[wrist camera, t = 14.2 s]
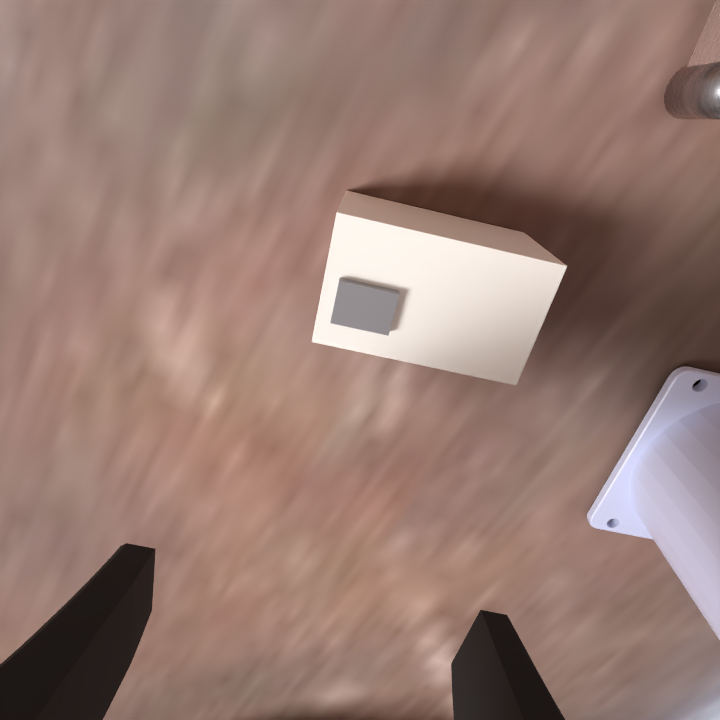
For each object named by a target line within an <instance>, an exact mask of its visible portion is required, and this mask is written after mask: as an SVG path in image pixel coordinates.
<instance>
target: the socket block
mask: <svg viewBox="0 0 720 720" xmlns="http://www.w3.org/2000/svg"><path fill="white" fill-rule="evenodd" d="M566 268H567V265H565V264H564V263H563V262H561V261H560V260H559V259H558V258H556V257H555V256H554V255H552V254H551V253H550V252H549V251H547V250H546V249H545V248H543V247H542V246H541V245H540V244H538V243H537V242H536V241H534V240H533V239H532V238H530V237H529V236H528V235H527V234H525V233H524V232H520V231H515V230H511V229H507V228H503V227H499V226H494V225H490V224H486V223H482V222H477V221H473V220H469V219H465V218H461V217H456V216H452V215H448V214H444V213H439V212H435V211H431V210H427V209H423V208H418V207H414V206H410V205H406V204H402V203H397V202H393V201H389V200H385V199H380V198H376V197H372V196H368V195H364V194H359V193H355V192H351V191H347V190H346V192H345V194H344V196H343V199H342V201H341V203H340V206H339V208H338V211H337V214H336V219H335V224H334V229H333V234H332V240H331V245H330V250H329V255H328V260H327V265H326V271H325V276H324V281H323V286H322V291H321V296H320V302H319V307H318V312H317V317H316V322H315V327H314V333H313V338H312V342H315V343H319V344H324V345H329V346H334V347H338V348H343V349H348V350H352V351H357V352H362V353H366V354H371V355H376V356H380V357H385V358H390V359H395V360H399V361H404V362H409V363H413V364H418V365H423V366H427V367H432V368H437V369H441V370H446V371H451V372H456V373H460V374H465V375H470V376H474V377H479V378H484V379H488V380H493V381H498V382H502V383H507V384H512V385H517V382H518V380H519V378H520V375H521V373H522V371H523V368H524V366H525V364H526V361H527V359H528V357H529V354H530V352H531V350H532V347H533V345H534V343H535V340H536V338H537V336H538V333H539V331H540V329H541V326H542V324H543V322H544V319H545V317H546V315H547V312H548V310H549V308H550V305H551V303H552V301H553V298H554V296H555V294H556V291H557V289H558V287H559V284H560V282H561V280H562V277H563V275H564V273H565V270H566Z"/></svg>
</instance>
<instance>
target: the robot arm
mask: <svg viewBox="0 0 720 720" xmlns="http://www.w3.org/2000/svg"><path fill="white" fill-rule="evenodd" d="M698 380H701V381H700V383H699V384H698V385H696V386H693V384H694V383H695V382H696V381H698ZM587 519H588V521H589V523H590V525H591V526H592V527H594V528H597V529H602V530H607V531H612V532H618V533H623V534H628V535H633V536H638V537H644V538H649V539H654V541H655V542H656V544H657V545H658V547H659V549H660V550H661V552H662V553H663V555H664V556H665V558H666V559H667V561H668V562H669V564H670V565H671V567H672V568H673V570H674V571H675V573H676V574H677V576H678V577H679V579H680V580H681V582H682V584H683V585H684V587H685V588H686V590H687V591H688V593H689V594H690V596H691V597H692V599H693V600H694V602H695V603H696V605H697V606H698V608H699V609H700V611H701V612H702V614H703V616H704V617H705V619H706V620H707V622H708V623H709V625H710V626H711V628H712V629H713V631H714V632H715V634H716V635H717V637H718V638H719V640H720V373H715V372H711V371H706V370H702V369H697V368H693V367H680V368H677V369H676V370H674V371H673V372H672V373H671V374H670V375H669V377H668V378H667V380H666V382H665V384H664V385H663V387H662V389H661V390H660V392H659V394H658V395H657V397H656V399H655V400H654V402H653V404H652V405H651V407H650V409H649V411H648V412H647V414H646V416H645V417H644V419H643V421H642V422H641V424H640V426H639V427H638V429H637V431H636V432H635V434H634V436H633V438H632V439H631V441H630V443H629V444H628V446H627V448H626V449H625V451H624V453H623V454H622V456H621V458H620V460H619V461H618V463H617V465H616V466H615V468H614V470H613V471H612V473H611V475H610V476H609V478H608V480H607V481H606V483H605V485H604V487H603V488H602V490H601V492H600V493H599V495H598V497H597V498H596V500H595V502H594V503H593V505H592V507H591V509H590V510H589V512H588V514H587ZM610 519H612V520H610ZM609 520H610V521H609ZM154 564H155V549H154V548H148V547H143V546H138V545H132V544H127V543H126V544H124V545H122V546H121V547H120V548H119V549H118V550H117V551H116V552H115V553H114V554H113V555H112V557H111V558H110V559H109V560H108V561H107V562H106V563H105V564H104V565H103V566H102V567H101V568H100V569H99V571H98V572H97V573H96V574H95V575H94V576H93V577H92V578H91V579H90V580H89V581H88V582H87V583H86V584H85V585H84V586H83V587H82V588H81V589H80V590H79V591H78V592H77V593H76V594H75V595H74V596H73V597H72V598H71V599H70V600H69V601H68V602H67V603H66V604H65V605H64V606H63V607H62V608H61V609H60V610H59V611H58V612H57V613H56V614H55V615H54V616H53V617H51V618H50V619H49V620H48V621H47V622H46V623H45V624H44V625H43V626H42V627H41V628H40V629H39V630H38V631H37V632H36V633H35V634H34V635H33V636H32V637H30V638H29V639H28V640H27V641H26V642H25V643H24V644H23V645H22V646H21V647H20V648H19V649H17V650H16V651H15V652H14V653H13V654H12V655H11V656H9V657H8V658H7V659H6V660H5V661H4V662H3V663H2V664H0V720H103V718H104V716H105V714H106V712H107V710H108V708H109V706H110V704H111V702H112V700H113V698H114V696H115V694H116V692H117V690H118V688H119V686H120V684H121V682H122V680H123V678H124V676H125V674H126V672H127V670H128V668H129V666H130V664H131V662H132V659H133V657H134V654H135V652H136V649H137V647H138V644H139V642H140V639H141V637H142V634H143V632H144V629H145V627H146V624H147V621H148V619H149V616H150V614H151V611H152V597H153V581H154ZM451 667H452V694H453V711H454V720H565V719H564V717H563V715H562V714H561V712H560V710H559V708H558V707H557V705H556V703H555V701H554V700H553V698H552V696H551V694H550V693H549V691H548V689H547V687H546V686H545V684H544V682H543V680H542V678H541V676H540V675H539V673H538V671H537V669H536V667H535V666H534V664H533V662H532V660H531V658H530V656H529V655H528V653H527V651H526V649H525V647H524V645H523V643H522V642H521V640H520V638H519V636H518V634H517V632H516V631H515V629H514V627H513V625H512V623H511V621H510V620H509V618H508V616H507V615H504V614H499V613H494V612H488V611H483V610H480V612H479V614H478V616H477V618H476V619H475V621H474V623H473V625H472V627H471V629H470V631H469V632H468V634H467V636H466V638H465V640H464V642H463V643H462V645H461V647H460V649H459V651H458V653H457V654H456V656H455V658H454V660H453V662H452V664H451Z"/></svg>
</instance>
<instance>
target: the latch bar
mask: <svg viewBox="0 0 720 720" xmlns="http://www.w3.org/2000/svg"><path fill="white" fill-rule="evenodd" d="M664 102H665V107H666V109H667V111H668V113H669V114H670V115H672V116H673V117H675V118H678V119H720V0H716V2H715V4H714V6H713V8H712V11H711V13H710V15H709V17H708V20H707V22H706V24H705V27H704V29H703V31H702V33H701V36H700V38H699V40H698V42H697V45H696V47H695V49H694V52H693V54H692V56H691V58H690V61H689V63H688V65H686V66H685V67H683V68H681V69H680V70H679V71H678V72H677V73H676V74H675V75H674V76H673V77H672V78H671V80H670V82H669V83H668V85H667V88H666V91H665V96H664Z"/></svg>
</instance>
